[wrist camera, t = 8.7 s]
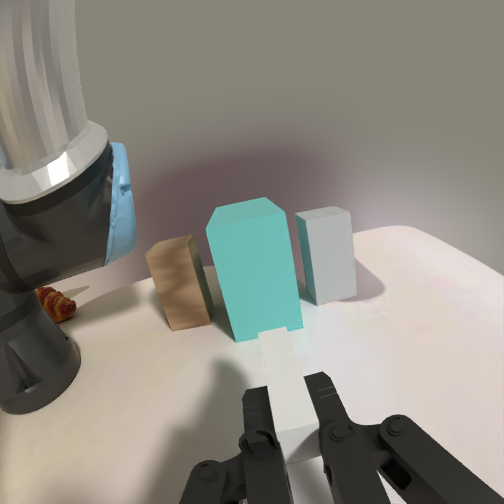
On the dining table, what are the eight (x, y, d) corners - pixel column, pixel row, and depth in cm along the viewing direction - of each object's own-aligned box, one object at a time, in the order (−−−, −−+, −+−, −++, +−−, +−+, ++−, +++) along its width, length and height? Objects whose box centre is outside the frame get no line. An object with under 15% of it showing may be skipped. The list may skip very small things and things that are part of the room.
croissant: (24, 338, 41) (-1, 318, 36) (37, 302, 48) (16, 281, 43) (80, 339, 38) (49, 314, 33) (94, 293, 45) (69, 266, 40)
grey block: (317, 305, 30) (305, 220, 27) (306, 288, 35) (294, 213, 32) (356, 295, 30) (349, 211, 27) (341, 279, 35) (333, 205, 32)
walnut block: (172, 331, 31) (144, 254, 28) (178, 311, 36) (156, 242, 33) (211, 324, 31) (187, 244, 28) (213, 305, 36) (193, 233, 33)
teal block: (236, 342, 27) (205, 229, 23) (234, 285, 41) (216, 207, 38) (303, 328, 27) (285, 212, 23) (280, 275, 41) (265, 197, 38)
